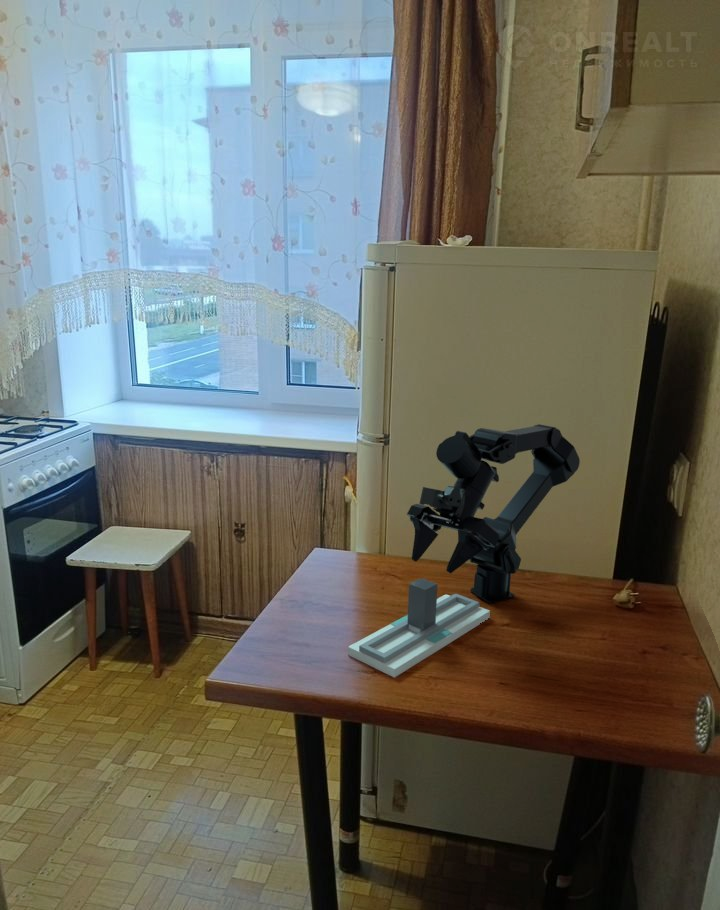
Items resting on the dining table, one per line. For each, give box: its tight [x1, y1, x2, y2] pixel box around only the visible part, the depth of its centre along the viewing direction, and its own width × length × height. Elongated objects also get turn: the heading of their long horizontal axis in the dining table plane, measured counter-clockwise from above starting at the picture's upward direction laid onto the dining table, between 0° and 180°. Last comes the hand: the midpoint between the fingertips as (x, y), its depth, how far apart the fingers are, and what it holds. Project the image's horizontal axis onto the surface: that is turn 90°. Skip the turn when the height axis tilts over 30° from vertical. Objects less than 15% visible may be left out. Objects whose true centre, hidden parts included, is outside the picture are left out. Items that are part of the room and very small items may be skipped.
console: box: [347, 593, 491, 679], centre depth 128 cm, size 28×10×2 cm, turn 138°
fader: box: [407, 577, 439, 633], centre depth 127 cm, size 4×4×8 cm
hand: (430, 566), depth 128 cm, fingers open, 9 cm apart
